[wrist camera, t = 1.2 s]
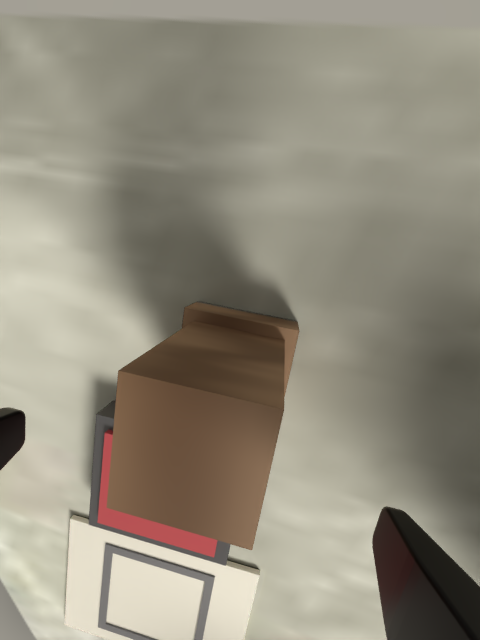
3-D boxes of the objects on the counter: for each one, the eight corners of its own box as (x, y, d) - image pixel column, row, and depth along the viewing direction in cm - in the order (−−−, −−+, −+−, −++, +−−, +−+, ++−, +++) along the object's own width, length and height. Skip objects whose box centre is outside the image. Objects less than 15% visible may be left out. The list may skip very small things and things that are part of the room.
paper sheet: (259, 570, 17) (259, 577, 17) (234, 676, 19) (233, 685, 19) (73, 514, 19) (69, 520, 18) (67, 619, 21) (63, 626, 20)
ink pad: (252, 435, 16) (248, 457, 14) (231, 540, 17) (224, 571, 15) (113, 400, 17) (92, 417, 15) (104, 503, 18) (85, 529, 16)
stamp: (297, 321, 14) (311, 394, 6) (276, 413, 15) (267, 571, 8) (197, 301, 15) (100, 346, 7) (184, 392, 16) (88, 518, 8)
